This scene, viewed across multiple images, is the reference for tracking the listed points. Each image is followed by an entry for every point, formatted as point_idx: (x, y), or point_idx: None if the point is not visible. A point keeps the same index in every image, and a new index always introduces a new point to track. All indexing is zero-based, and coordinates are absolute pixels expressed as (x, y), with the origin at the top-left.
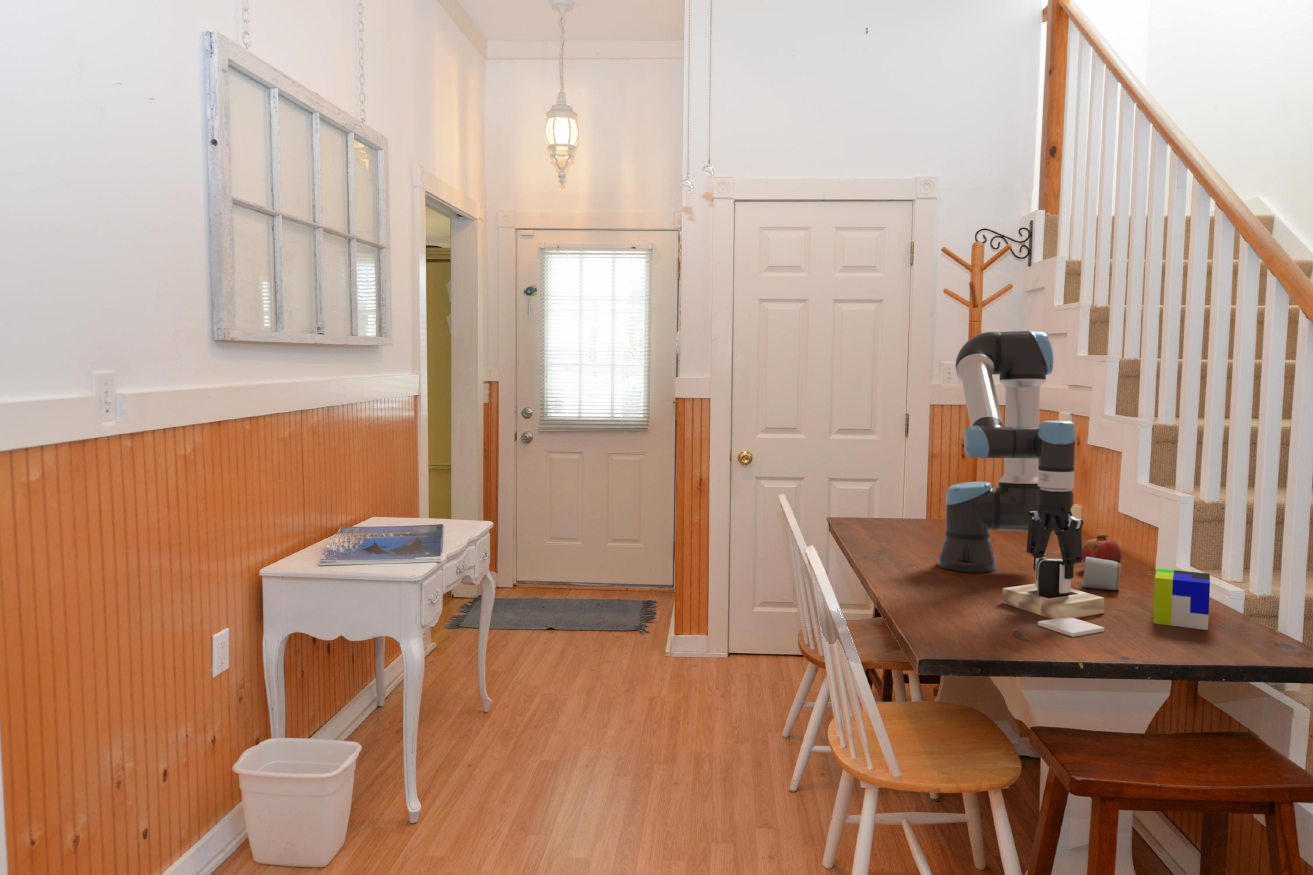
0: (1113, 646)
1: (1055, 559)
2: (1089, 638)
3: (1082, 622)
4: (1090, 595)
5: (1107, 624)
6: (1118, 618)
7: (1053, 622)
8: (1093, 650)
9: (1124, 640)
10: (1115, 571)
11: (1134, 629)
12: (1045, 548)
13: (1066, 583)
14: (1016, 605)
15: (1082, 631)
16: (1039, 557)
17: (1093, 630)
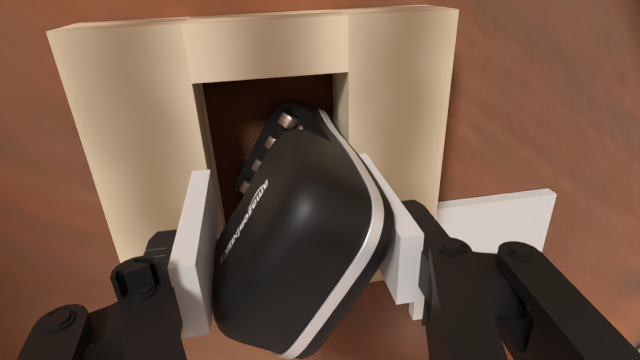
0: (620, 255)
1: (319, 288)
2: (554, 265)
3: (489, 217)
4: (396, 43)
5: (517, 122)
6: (501, 15)
7: None
8: (601, 310)
9: (621, 198)
10: None
11: (600, 82)
12: (179, 335)
13: None
14: None
15: None
16: (180, 314)
17: (543, 232)
